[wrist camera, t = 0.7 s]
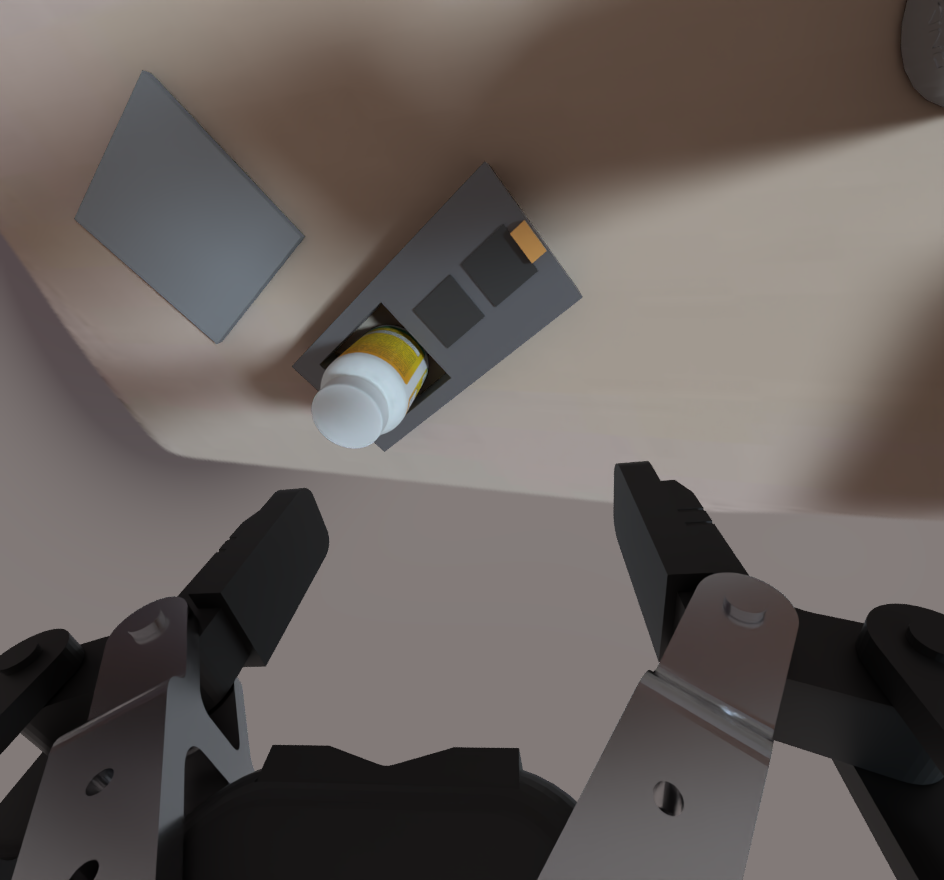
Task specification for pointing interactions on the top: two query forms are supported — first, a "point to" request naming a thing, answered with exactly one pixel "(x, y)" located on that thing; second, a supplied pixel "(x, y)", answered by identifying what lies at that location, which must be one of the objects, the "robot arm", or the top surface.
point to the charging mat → (185, 213)
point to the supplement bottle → (370, 387)
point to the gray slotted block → (459, 294)
